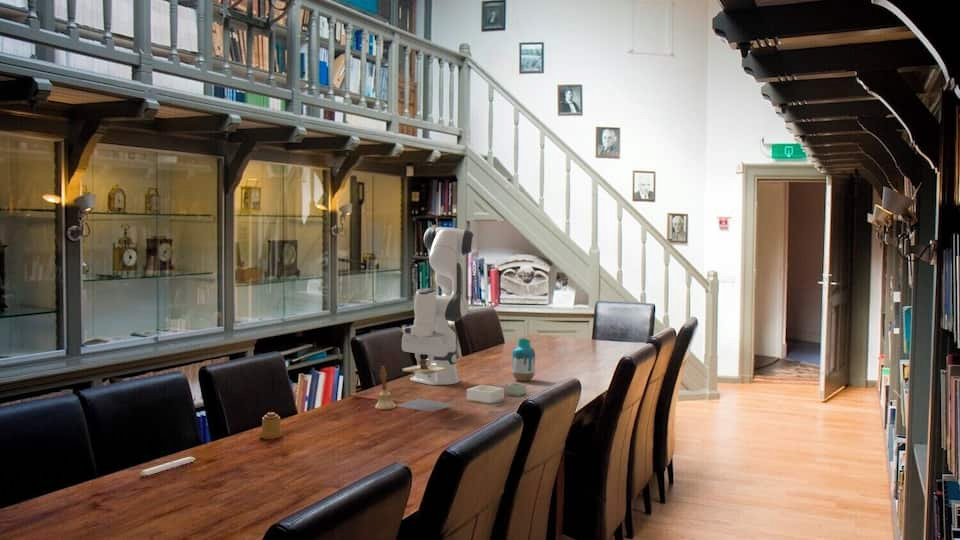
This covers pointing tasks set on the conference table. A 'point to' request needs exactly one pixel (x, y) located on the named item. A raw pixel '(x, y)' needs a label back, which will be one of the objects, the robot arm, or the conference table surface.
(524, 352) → the vase
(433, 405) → the mat
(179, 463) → the marker
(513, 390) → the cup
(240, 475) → the conference table surface
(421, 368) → the lid
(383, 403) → the hand bell
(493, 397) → the dish
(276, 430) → the ornamental finial
